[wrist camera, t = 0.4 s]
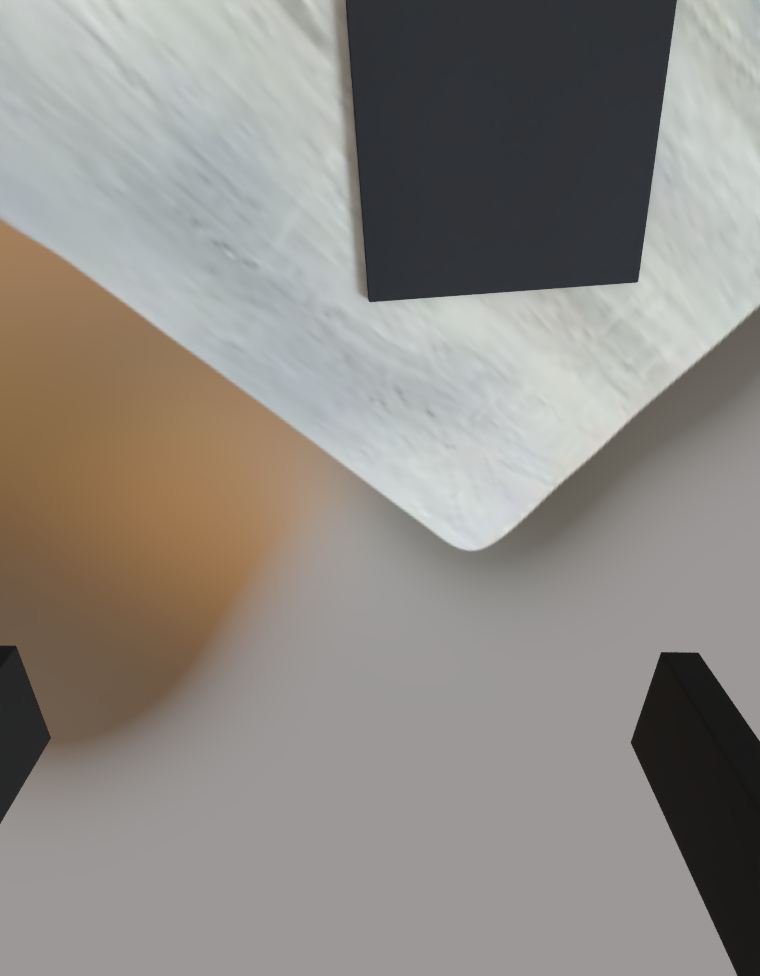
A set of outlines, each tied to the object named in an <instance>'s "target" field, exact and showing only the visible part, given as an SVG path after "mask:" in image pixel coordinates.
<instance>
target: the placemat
mask: <svg viewBox="0 0 760 976" xmlns="http://www.w3.org/2000/svg"><path fill="white" fill-rule="evenodd" d="M676 2H677V0H346V9H347V22H348V35H349V48H350V61H351V74H352V88H353V101H354V114H355V127H356V140H357V153H358V166H359V179H360V192H361V205H362V218H363V231H364V244H365V257H366V270H367V284H368V297H369V302H377V301H391V300H404V299H418V298H431V297H445V296H458V295H472V294H486V293H499V292H513V291H526V290H540V289H553V288H567V287H580V286H594V285H608V284H621V283H635V282H638V278H639V271H640V263H641V256H642V249H643V242H644V234H645V227H646V220H647V213H648V205H649V198H650V191H651V184H652V176H653V169H654V162H655V154H656V147H657V140H658V133H659V125H660V118H661V111H662V104H663V96H664V89H665V82H666V74H667V67H668V60H669V53H670V45H671V38H672V31H673V24H674V16H675V9H676Z"/></svg>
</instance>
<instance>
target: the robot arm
mask: <svg viewBox="0 0 760 976" xmlns="http://www.w3.org/2000/svg"><path fill="white" fill-rule="evenodd" d="M50 739H51V737H50V735H49V732H48V729H47V727H46V724H45V721H44V719H43V716H42V713H41V711H40V708H39V705H38V703H37V700H36V697H35V695H34V692H33V689H32V687H31V684H30V681H29V679H28V676H27V673H26V671H25V668H24V666H23V663H22V660H21V658H20V655H19V652H18V650H17V647H16V646H0V823H1V821H2V820H3V818H4V816H5V814H6V813H7V811H8V810H9V808H10V806H11V804H12V803H13V801H14V799H15V798H16V796H17V794H18V793H19V791H20V789H21V787H22V786H23V784H24V782H25V781H26V779H27V777H28V776H29V774H30V772H31V771H32V769H33V767H34V766H35V764H36V762H37V761H38V759H39V757H40V755H41V754H42V752H43V750H44V749H45V747H46V745H47V744H48V742H49V740H50ZM631 744H632V746H633V748H634V751H635V753H636V755H637V757H638V759H639V762H640V764H641V766H642V768H643V770H644V772H645V775H646V777H647V779H648V781H649V783H650V786H651V788H652V790H653V792H654V794H655V796H656V798H657V801H658V803H659V805H660V807H661V810H662V812H663V814H664V816H665V818H666V821H667V823H668V825H669V827H670V829H671V831H672V834H673V836H674V838H675V840H676V842H677V844H678V847H679V849H680V851H681V853H682V856H683V858H684V860H685V862H686V864H687V866H688V868H689V871H690V873H691V875H692V877H693V880H694V882H695V884H696V886H697V888H698V890H699V893H700V895H701V897H702V899H703V901H704V904H705V906H706V908H707V910H708V912H709V914H710V917H711V919H712V921H713V923H714V925H715V927H716V930H717V932H718V934H719V936H720V938H721V940H722V943H723V945H724V947H725V949H726V952H727V954H728V956H729V958H730V960H731V962H732V964H733V967H734V969H735V971H736V973H737V976H760V741H759V740H758V738H757V737H756V735H755V734H754V733H753V731H752V730H751V728H750V727H749V725H748V724H747V723H746V721H745V720H744V718H743V717H742V715H741V714H740V712H739V711H738V709H737V708H736V707H735V705H734V704H733V702H732V701H731V699H730V698H729V696H728V695H727V694H726V692H725V691H724V689H723V688H722V686H721V685H720V683H719V682H718V681H717V679H716V678H715V676H714V675H713V673H712V672H711V670H710V669H709V668H708V666H707V665H706V663H705V662H704V660H703V659H702V657H701V656H700V654H699V653H677V652H673V653H672V652H670V653H669V652H661V655H660V658H659V660H658V663H657V666H656V669H655V672H654V675H653V678H652V681H651V684H650V687H649V690H648V693H647V696H646V699H645V702H644V705H643V708H642V711H641V714H640V717H639V720H638V723H637V726H636V729H635V732H634V735H633V738H632V741H631Z"/></svg>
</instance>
